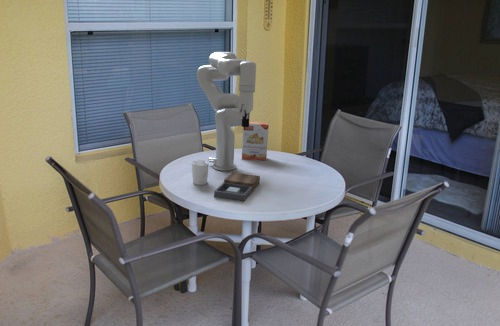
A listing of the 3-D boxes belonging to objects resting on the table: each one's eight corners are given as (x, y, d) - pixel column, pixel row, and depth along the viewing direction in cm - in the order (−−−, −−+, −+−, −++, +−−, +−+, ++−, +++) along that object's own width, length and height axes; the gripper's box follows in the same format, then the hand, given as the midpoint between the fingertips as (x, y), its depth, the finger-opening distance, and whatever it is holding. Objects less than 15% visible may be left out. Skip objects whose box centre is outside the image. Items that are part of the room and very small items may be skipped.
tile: (229, 186, 225) (229, 191, 226) (226, 190, 221) (226, 195, 222) (240, 188, 224) (240, 193, 225) (236, 191, 220) (236, 196, 220)
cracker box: (241, 159, 276) (243, 123, 270) (241, 156, 282) (243, 121, 275) (266, 160, 276) (268, 124, 270) (266, 157, 282) (268, 122, 276)
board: (224, 187, 232) (224, 179, 231) (232, 179, 243) (232, 172, 242) (252, 191, 228) (252, 183, 227) (259, 183, 240) (259, 176, 238)
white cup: (195, 186, 232) (195, 166, 229) (189, 181, 239) (189, 161, 236) (210, 184, 236) (211, 164, 233) (204, 179, 242) (204, 159, 239)
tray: (214, 197, 220) (214, 190, 219) (223, 188, 231) (223, 182, 231) (244, 201, 216) (244, 195, 215) (252, 192, 228) (252, 186, 227)
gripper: (244, 85, 238) (242, 122, 243) (234, 90, 224) (232, 129, 230) (259, 87, 236) (257, 124, 241) (250, 91, 222) (248, 131, 228)
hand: (245, 126), depth 236 cm, fingers closed
